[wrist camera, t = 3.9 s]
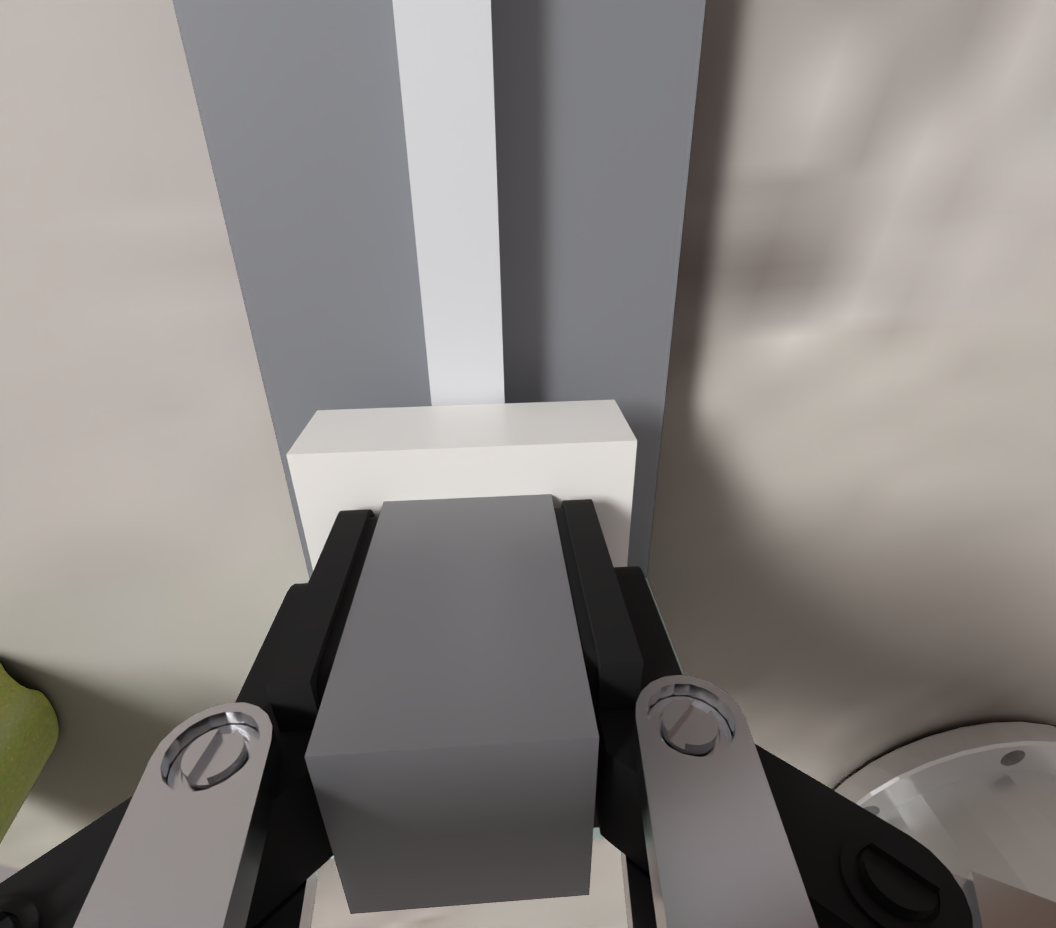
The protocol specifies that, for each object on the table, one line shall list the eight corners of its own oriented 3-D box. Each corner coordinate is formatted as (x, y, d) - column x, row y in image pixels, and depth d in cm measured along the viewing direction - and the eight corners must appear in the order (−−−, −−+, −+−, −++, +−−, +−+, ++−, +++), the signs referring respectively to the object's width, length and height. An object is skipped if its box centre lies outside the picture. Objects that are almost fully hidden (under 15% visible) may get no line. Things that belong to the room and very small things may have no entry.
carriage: (603, 591, 14) (695, 926, 8) (355, 604, 14) (246, 963, 8) (614, 399, 12) (757, 659, 6) (317, 410, 11) (116, 696, 5)
